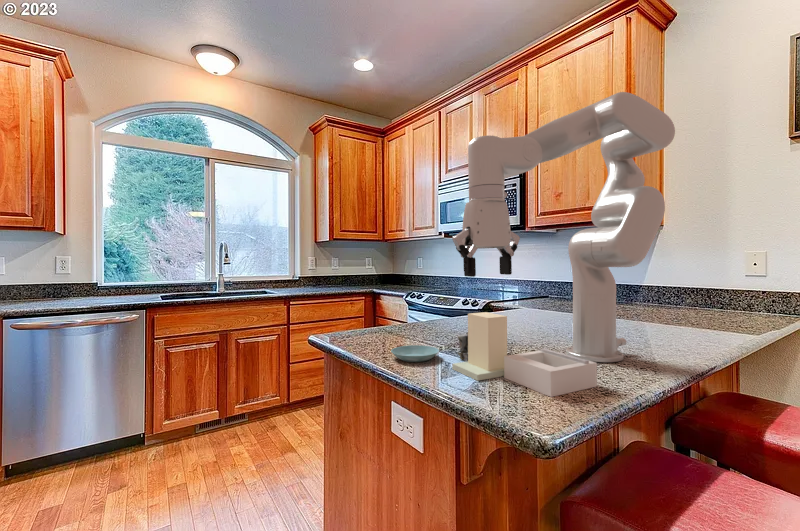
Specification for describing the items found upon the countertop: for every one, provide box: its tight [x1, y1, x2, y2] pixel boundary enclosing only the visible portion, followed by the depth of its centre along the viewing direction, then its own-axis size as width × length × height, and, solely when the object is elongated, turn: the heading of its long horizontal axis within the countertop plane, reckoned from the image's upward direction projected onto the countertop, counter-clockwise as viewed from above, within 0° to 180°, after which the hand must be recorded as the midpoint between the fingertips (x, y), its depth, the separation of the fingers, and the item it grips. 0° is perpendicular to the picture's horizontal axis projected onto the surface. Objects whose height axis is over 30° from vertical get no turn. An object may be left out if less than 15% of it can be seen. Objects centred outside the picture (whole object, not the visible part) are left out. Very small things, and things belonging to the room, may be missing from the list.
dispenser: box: [503, 347, 598, 398], centre depth 75 cm, size 12×12×5 cm
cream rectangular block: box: [467, 311, 508, 371], centre depth 82 cm, size 5×7×11 cm
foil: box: [457, 332, 468, 362], centre depth 93 cm, size 12×11×15 cm
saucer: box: [390, 344, 440, 363], centre depth 93 cm, size 12×12×2 cm
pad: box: [451, 361, 504, 382], centre depth 82 cm, size 12×9×1 cm
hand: (488, 275), depth 82 cm, fingers open, 9 cm apart
